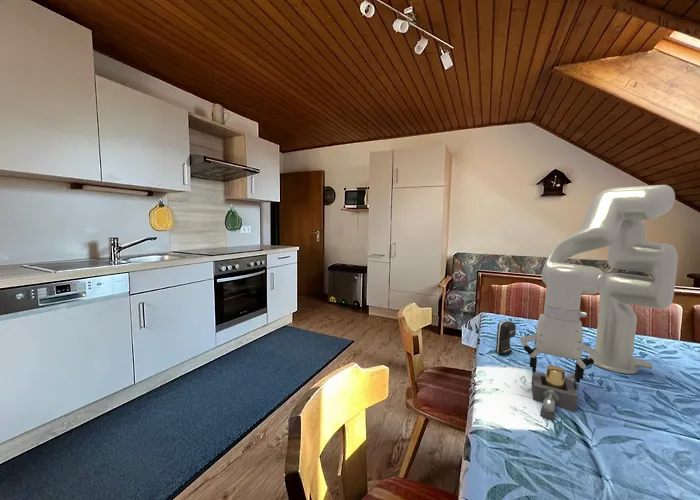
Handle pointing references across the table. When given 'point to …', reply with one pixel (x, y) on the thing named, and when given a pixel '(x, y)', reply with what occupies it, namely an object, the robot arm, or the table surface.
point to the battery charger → (505, 337)
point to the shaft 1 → (549, 403)
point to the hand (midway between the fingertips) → (554, 375)
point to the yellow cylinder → (555, 377)
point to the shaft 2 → (571, 377)
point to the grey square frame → (566, 395)
